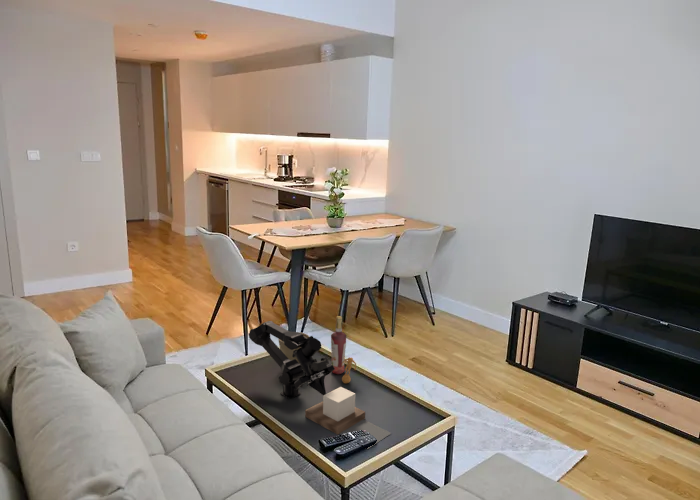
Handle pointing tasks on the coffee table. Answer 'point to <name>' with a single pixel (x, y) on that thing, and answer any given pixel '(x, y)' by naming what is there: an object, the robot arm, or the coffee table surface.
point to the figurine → (346, 377)
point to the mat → (369, 430)
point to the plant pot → (287, 350)
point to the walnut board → (335, 426)
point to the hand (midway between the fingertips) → (324, 394)
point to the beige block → (339, 403)
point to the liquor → (338, 347)
